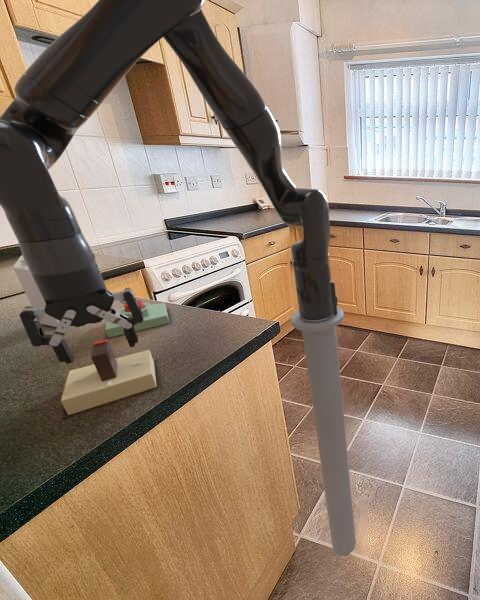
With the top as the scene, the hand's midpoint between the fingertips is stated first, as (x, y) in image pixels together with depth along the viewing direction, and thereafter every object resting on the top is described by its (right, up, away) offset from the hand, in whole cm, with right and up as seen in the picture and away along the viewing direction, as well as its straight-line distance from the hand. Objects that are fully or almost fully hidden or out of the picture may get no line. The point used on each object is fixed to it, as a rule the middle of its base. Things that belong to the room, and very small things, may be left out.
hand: (103, 353), depth 59 cm
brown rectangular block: (0, -4, +1) cm, 4 cm away
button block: (-13, +4, +25) cm, 29 cm away
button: (-13, +7, +24) cm, 28 cm away
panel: (0, -6, +3) cm, 7 cm away
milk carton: (-33, +4, +27) cm, 43 cm away
